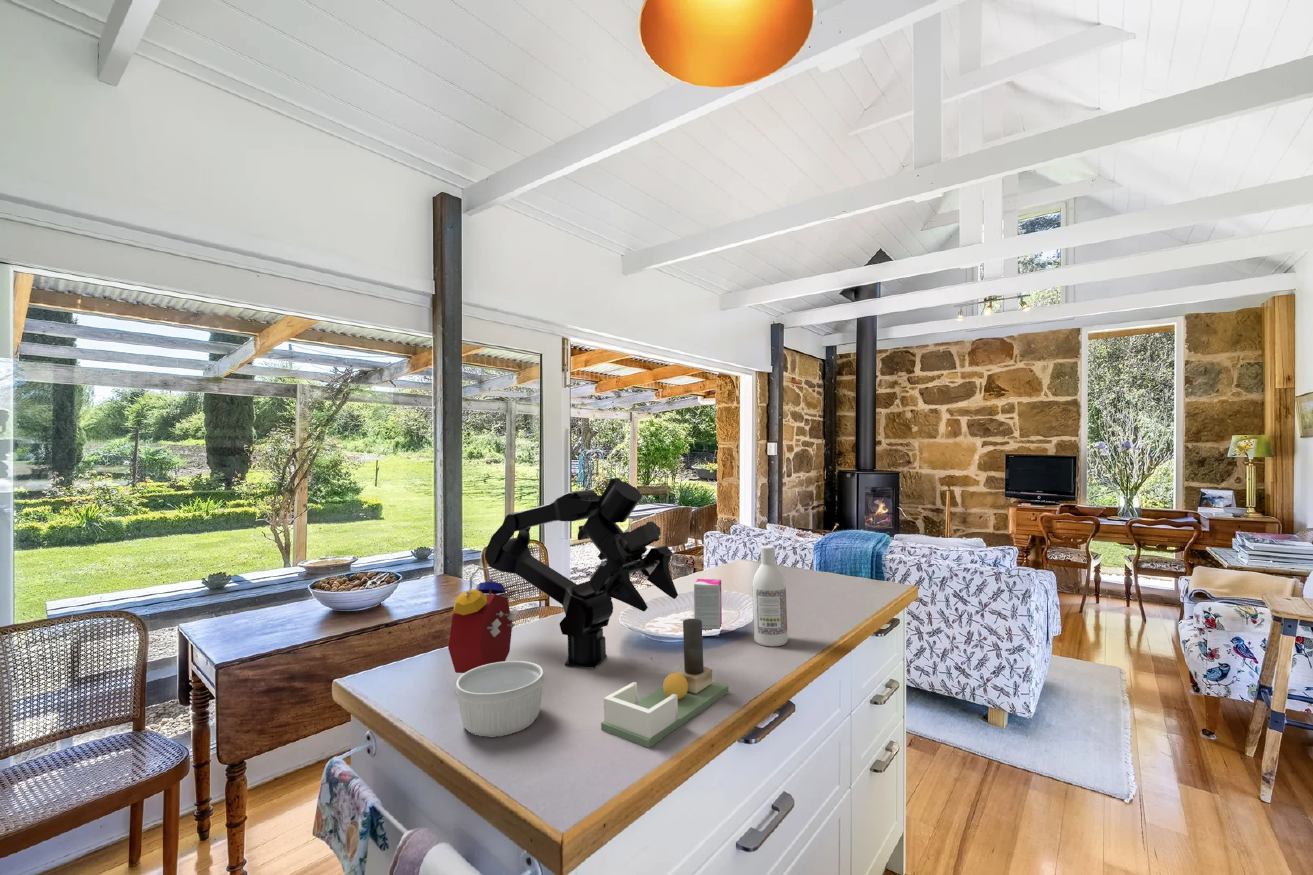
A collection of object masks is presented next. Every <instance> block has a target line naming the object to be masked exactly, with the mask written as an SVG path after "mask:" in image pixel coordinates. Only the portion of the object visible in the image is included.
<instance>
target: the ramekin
mask: <svg viewBox="0 0 1313 875" xmlns="http://www.w3.org/2000/svg"><path fill="white" fill-rule="evenodd" d="M544 682H545V673H544V670H543V668H542V666H541V665H539V664H537V663H534V662H530V661H525V660H505V661H503V662H496V663H490V664H486V665H482V666H479V667H476V668H474V669H471V670H469V671H467V672H466V673H462V674H461V675H460V676H459V677H458V678H457V680H456V683H455V694H456V696H457V700H458V709H459V713H460V714H459V715H460V719H461V723H462V726H464V728H465V730H467V731H468V732H469V733H470V732H471V733H470V734H472V733H473V734H472V735H474V734H475V735H474V736H476V735H479V736H478V737H481V736H498V737H504V735H505V736H508V734H509V735H513V734H515V732H516V733H518V732H521V731H522V730H524V729H526V728H528V727H530V725H532V724H533V723H534V722H535V720H536V719H537V717H538V716H539V714H540V710H541V705H542V693H543V683H544ZM512 733H513V734H512Z"/></svg>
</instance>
